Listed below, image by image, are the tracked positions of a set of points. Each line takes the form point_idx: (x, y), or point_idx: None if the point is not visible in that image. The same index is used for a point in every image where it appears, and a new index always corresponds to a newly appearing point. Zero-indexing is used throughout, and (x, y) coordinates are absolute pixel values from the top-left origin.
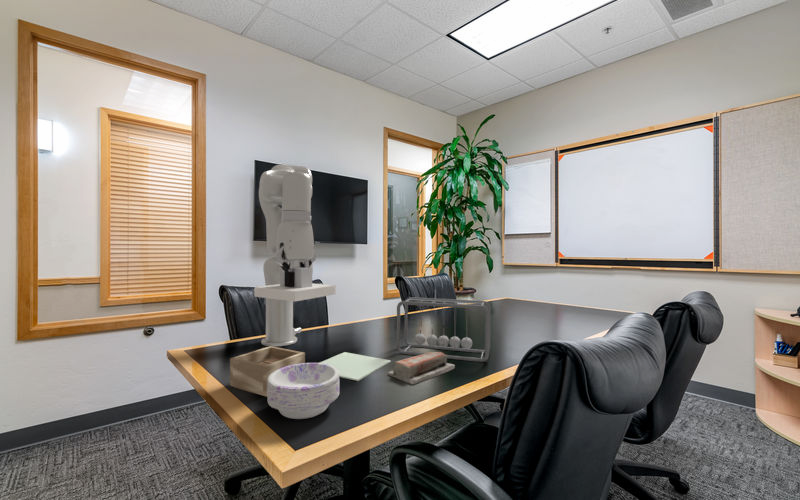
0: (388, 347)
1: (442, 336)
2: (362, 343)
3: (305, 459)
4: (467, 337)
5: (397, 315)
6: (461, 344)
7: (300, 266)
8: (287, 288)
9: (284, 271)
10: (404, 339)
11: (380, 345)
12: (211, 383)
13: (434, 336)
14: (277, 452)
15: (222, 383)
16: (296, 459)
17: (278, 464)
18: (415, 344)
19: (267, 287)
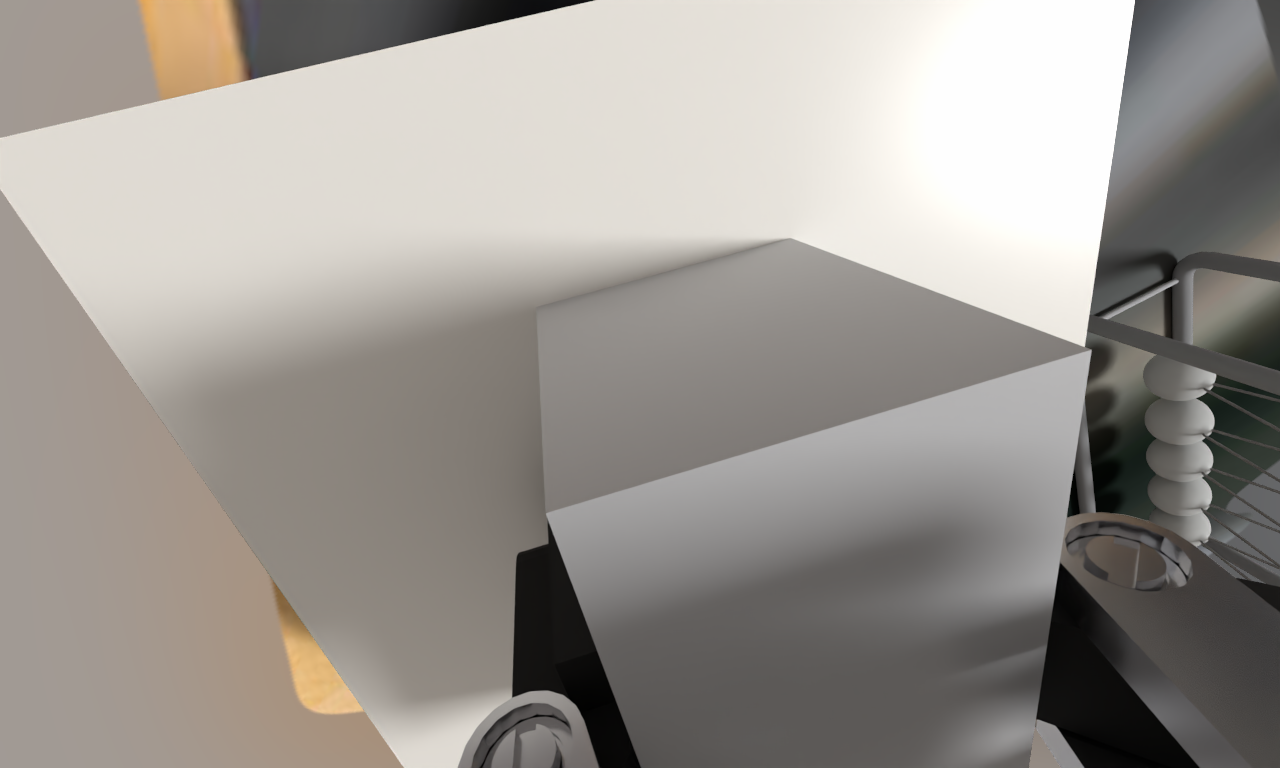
0: (1126, 210)
1: (1195, 471)
2: (1146, 31)
3: (358, 708)
4: (1203, 542)
5: (1265, 382)
6: (1164, 515)
7: (1113, 648)
8: (488, 633)
9: (509, 740)
10: (1208, 256)
11: (1144, 150)
12: (184, 3)
13: (1192, 442)
14: (312, 664)
15: (244, 57)
16: (341, 701)
17: (299, 698)
18: (1185, 302)
19: (249, 387)
